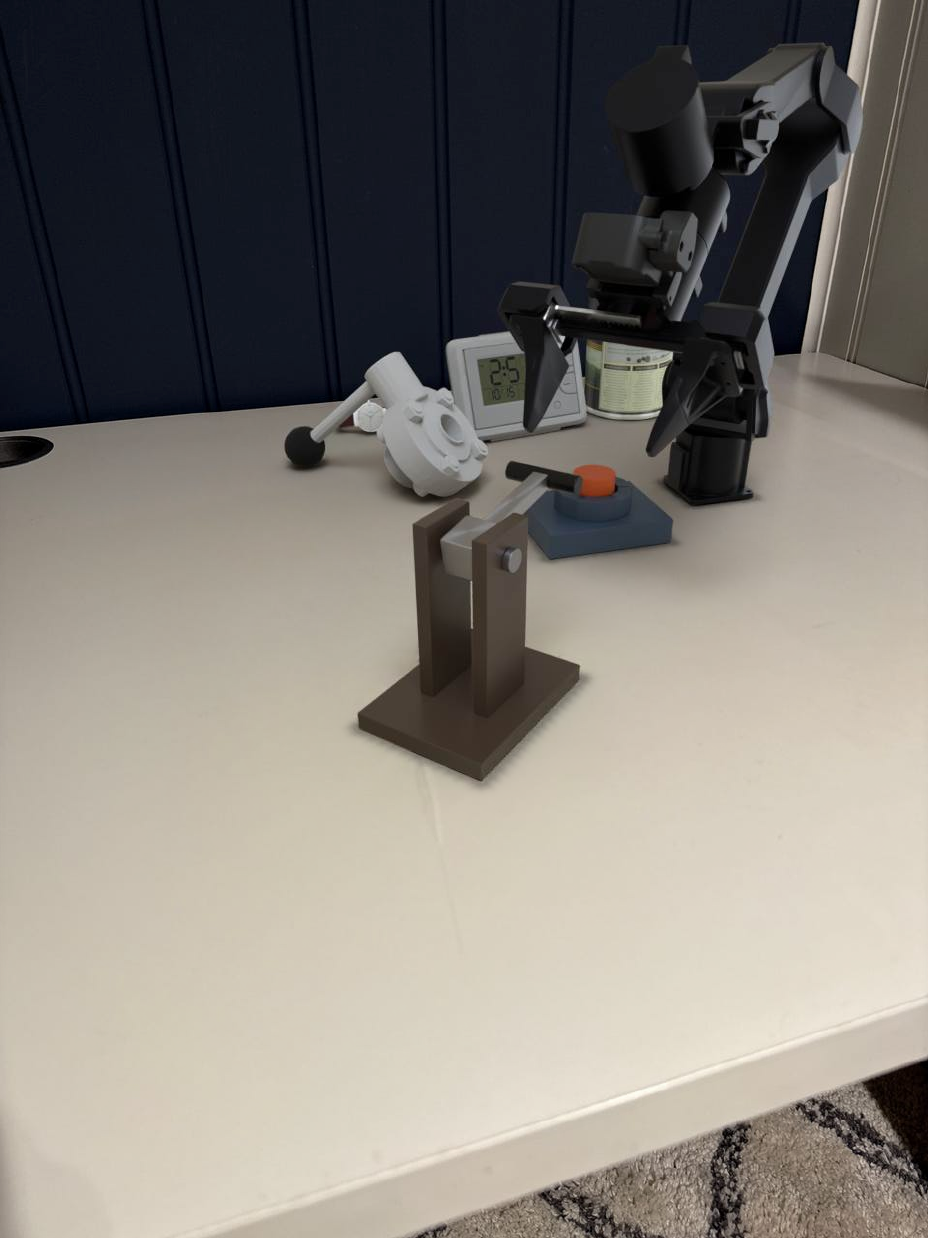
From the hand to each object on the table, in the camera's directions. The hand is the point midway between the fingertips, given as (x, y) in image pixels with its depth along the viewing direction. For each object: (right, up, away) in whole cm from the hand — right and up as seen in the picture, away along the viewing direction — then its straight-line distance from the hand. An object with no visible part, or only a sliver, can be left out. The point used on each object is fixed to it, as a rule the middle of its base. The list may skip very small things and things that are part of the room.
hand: (586, 441), depth 60 cm
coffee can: (+11, +14, +48) cm, 51 cm away
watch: (-19, +10, +43) cm, 48 cm away
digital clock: (-2, +9, +42) cm, 43 cm away
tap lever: (-6, -7, -6) cm, 10 cm away
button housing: (+3, -4, +19) cm, 19 cm away
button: (+3, -1, +17) cm, 17 cm away
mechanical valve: (-17, +2, +29) cm, 34 cm away
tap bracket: (-8, -17, -3) cm, 19 cm away
